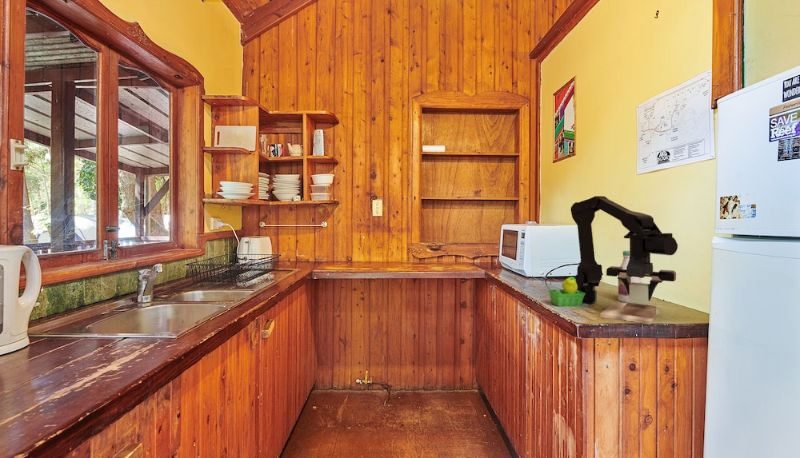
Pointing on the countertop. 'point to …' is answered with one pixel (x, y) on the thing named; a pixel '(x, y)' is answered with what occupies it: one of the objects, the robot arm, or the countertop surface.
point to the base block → (639, 310)
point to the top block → (639, 293)
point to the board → (617, 313)
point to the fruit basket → (567, 294)
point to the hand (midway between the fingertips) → (639, 299)
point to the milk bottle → (622, 290)
